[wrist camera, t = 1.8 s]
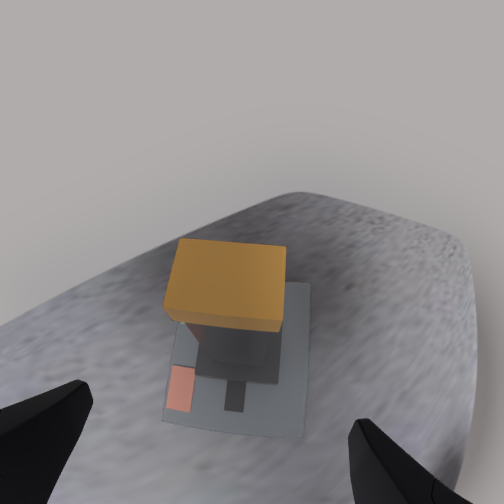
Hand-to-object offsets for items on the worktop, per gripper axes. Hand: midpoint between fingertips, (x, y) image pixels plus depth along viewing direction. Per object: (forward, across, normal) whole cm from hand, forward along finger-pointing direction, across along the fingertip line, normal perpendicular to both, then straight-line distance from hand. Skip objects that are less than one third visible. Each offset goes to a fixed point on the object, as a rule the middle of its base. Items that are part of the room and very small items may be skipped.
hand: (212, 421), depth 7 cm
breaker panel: (+11, 0, +5) cm, 12 cm away
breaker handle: (+9, 0, +3) cm, 10 cm away
